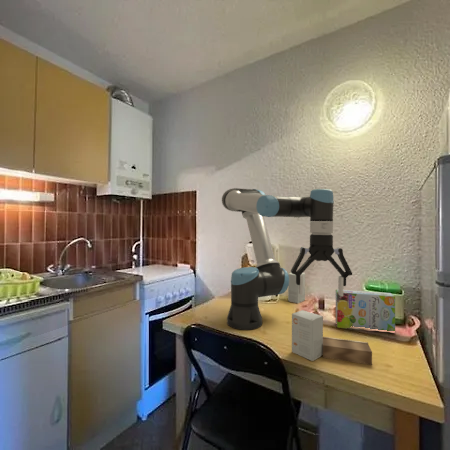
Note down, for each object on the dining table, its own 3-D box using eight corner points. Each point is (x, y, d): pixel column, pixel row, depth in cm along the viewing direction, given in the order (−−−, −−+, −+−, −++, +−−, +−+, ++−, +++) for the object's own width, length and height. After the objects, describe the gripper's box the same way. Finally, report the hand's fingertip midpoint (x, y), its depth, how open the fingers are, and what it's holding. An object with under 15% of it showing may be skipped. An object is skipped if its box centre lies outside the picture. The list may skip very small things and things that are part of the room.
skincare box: (295, 298, 151) (295, 271, 151) (305, 300, 146) (306, 272, 146) (287, 301, 145) (287, 273, 144) (298, 303, 140) (298, 274, 140)
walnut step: (323, 357, 85) (323, 344, 85) (322, 348, 91) (322, 336, 91) (371, 364, 81) (372, 351, 81) (367, 355, 86) (367, 342, 86)
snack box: (390, 329, 108) (391, 292, 108) (395, 334, 103) (395, 296, 102) (335, 323, 114) (335, 288, 114) (336, 328, 109) (337, 291, 108)
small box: (323, 355, 86) (323, 316, 86) (312, 361, 82) (312, 320, 82) (302, 346, 93) (302, 309, 92) (291, 351, 89) (291, 313, 88)
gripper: (286, 234, 89) (285, 296, 89) (363, 234, 86) (362, 299, 87) (283, 233, 96) (282, 290, 97) (354, 233, 94) (353, 292, 94)
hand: (320, 294), depth 92 cm, fingers open, 13 cm apart
